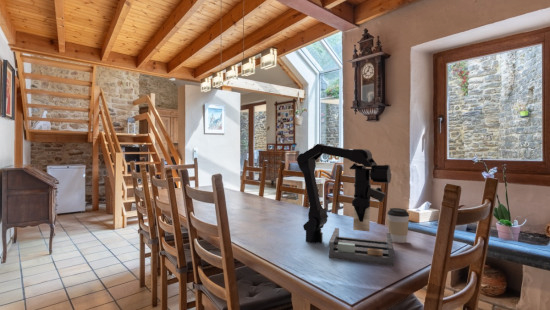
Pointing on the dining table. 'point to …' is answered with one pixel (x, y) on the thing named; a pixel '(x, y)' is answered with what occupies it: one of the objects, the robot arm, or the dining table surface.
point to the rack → (362, 249)
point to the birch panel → (362, 225)
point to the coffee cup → (398, 224)
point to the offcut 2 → (375, 251)
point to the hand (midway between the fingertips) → (361, 221)
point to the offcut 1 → (346, 247)
